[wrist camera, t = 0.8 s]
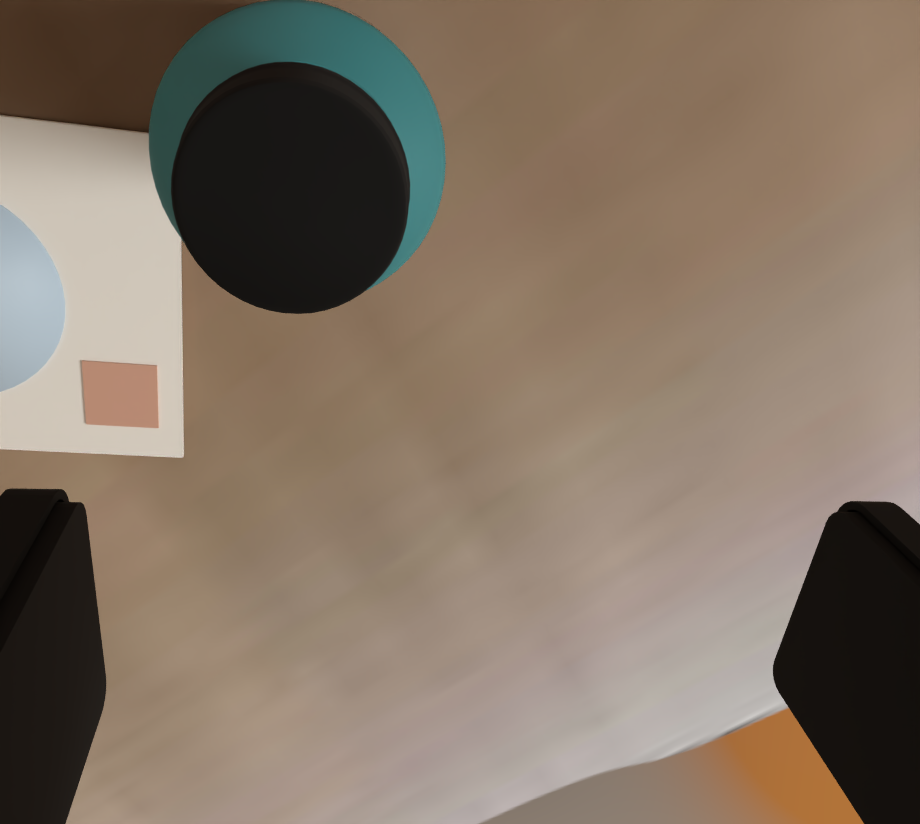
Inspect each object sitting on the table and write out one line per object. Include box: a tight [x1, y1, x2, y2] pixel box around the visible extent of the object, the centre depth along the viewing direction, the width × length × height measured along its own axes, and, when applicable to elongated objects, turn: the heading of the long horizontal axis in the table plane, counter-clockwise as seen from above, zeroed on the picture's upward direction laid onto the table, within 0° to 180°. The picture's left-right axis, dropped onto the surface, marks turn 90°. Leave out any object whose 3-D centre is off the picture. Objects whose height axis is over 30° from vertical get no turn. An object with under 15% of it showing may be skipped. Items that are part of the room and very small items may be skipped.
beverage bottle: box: [149, 0, 446, 314], centre depth 22 cm, size 6×7×20 cm
